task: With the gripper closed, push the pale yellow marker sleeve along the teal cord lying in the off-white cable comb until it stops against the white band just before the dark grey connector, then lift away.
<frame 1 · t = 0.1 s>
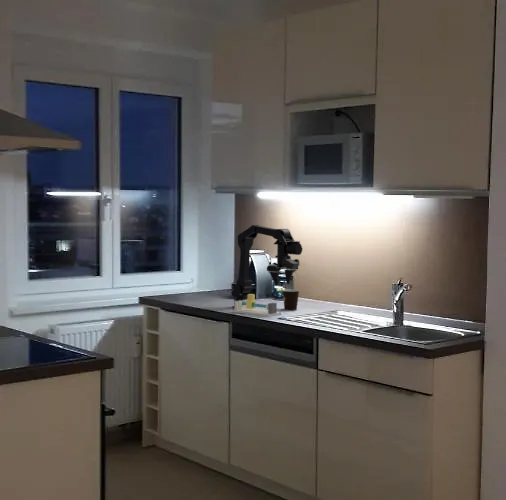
hand: (282, 284, 407), 15 cm above the countertop, tool pointing down, fingers open, 9 cm apart
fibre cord: (257, 306, 407), point 4 cm above the countertop
cable comb: (256, 313, 407), on the countertop
marker sleeve: (251, 301, 410), point 6 cm above the countertop, slide at 0.0 cm
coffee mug: (291, 309, 422), on the countertop
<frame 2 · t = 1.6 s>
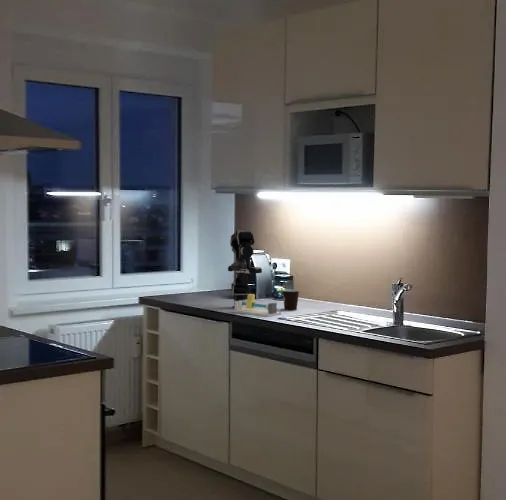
hand: (244, 286, 412), 13 cm above the countertop, tool pointing down, fingers closed
nothing on the countertop moved.
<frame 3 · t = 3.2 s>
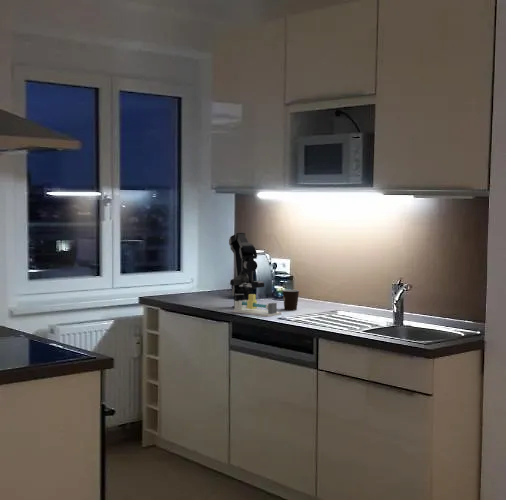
hand: (246, 299, 411), 6 cm above the countertop, tool pointing down, fingers closed
marker sleeve: (252, 301, 409), point 6 cm above the countertop, slide at 0.7 cm, touching gripper
everything else where it was.
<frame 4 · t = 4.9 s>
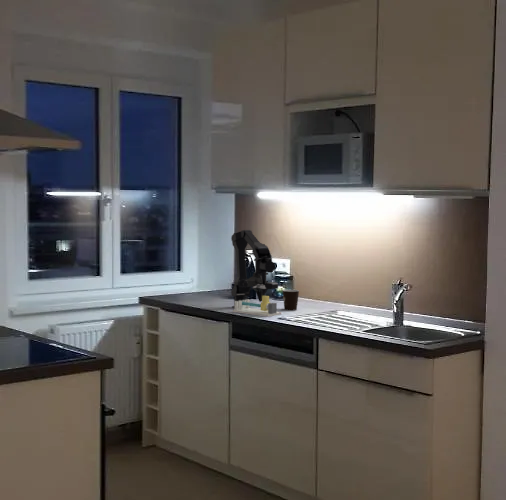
hand: (260, 301, 406), 6 cm above the countertop, tool pointing down, fingers closed
marker sleeve: (265, 303, 404), point 6 cm above the countertop, slide at 9.5 cm, touching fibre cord, gripper
everything else where it was.
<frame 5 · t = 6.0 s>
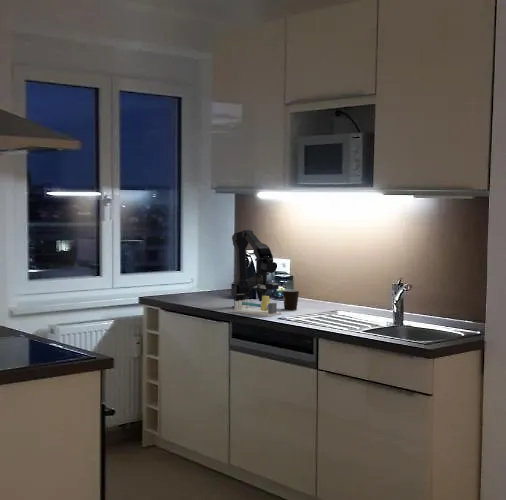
hand: (260, 301, 406), 6 cm above the countertop, tool pointing down, fingers closed
nothing on the countertop moved.
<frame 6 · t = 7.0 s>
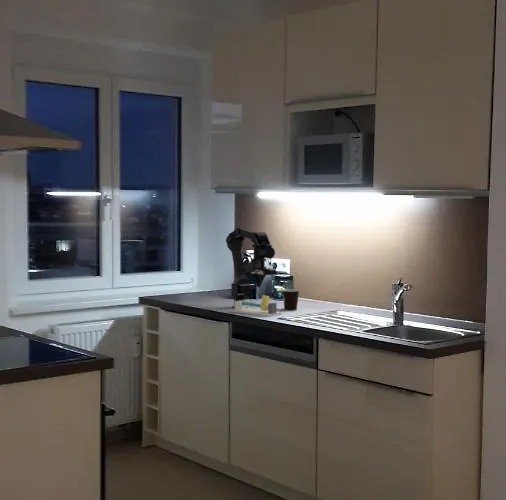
hand: (258, 287, 411), 13 cm above the countertop, tool pointing down, fingers closed
marker sleeve: (265, 303, 404), point 6 cm above the countertop, slide at 9.5 cm, touching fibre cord
everything else where it was.
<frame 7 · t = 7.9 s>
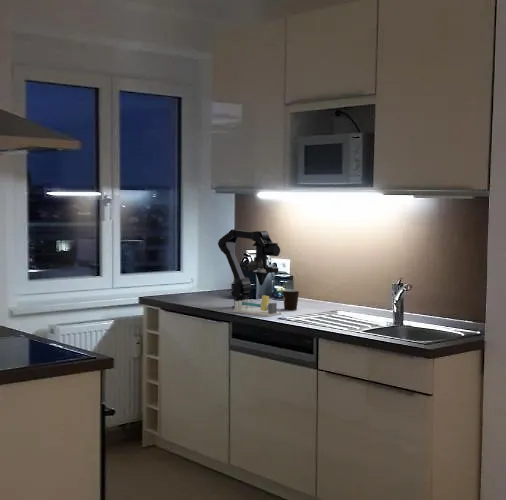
hand: (261, 285, 417), 13 cm above the countertop, tool pointing down, fingers closed
nothing on the countertop moved.
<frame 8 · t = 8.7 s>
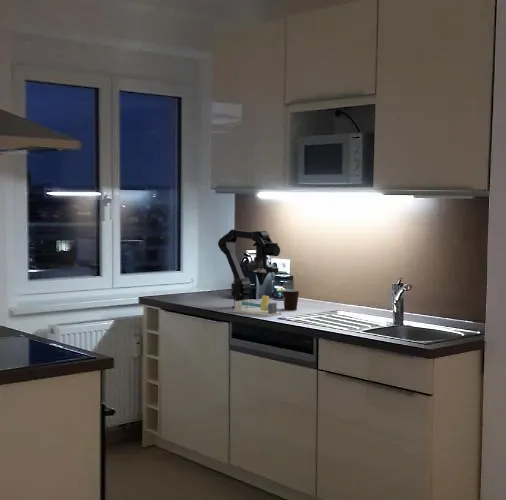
hand: (261, 285, 417), 13 cm above the countertop, tool pointing down, fingers closed
nothing on the countertop moved.
at the end: marker sleeve slide at 9.5 cm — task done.
